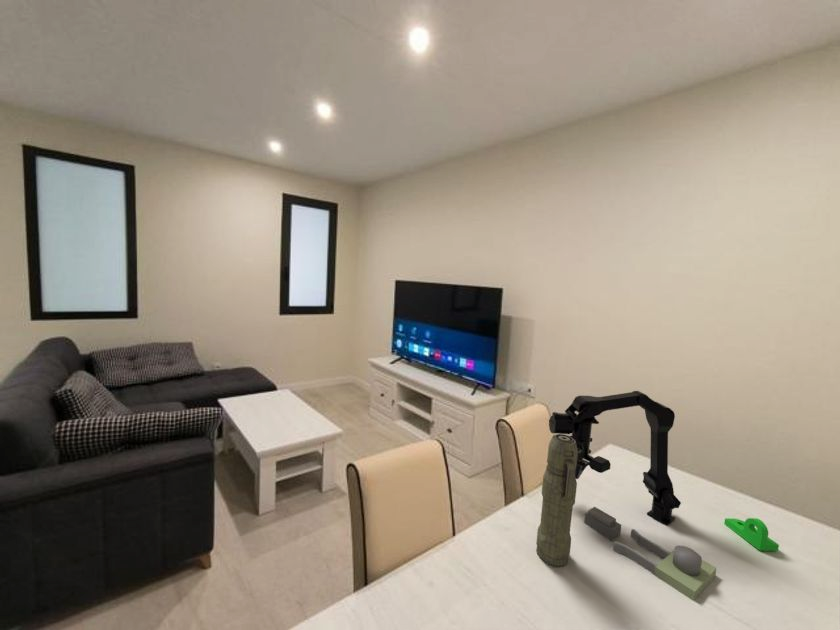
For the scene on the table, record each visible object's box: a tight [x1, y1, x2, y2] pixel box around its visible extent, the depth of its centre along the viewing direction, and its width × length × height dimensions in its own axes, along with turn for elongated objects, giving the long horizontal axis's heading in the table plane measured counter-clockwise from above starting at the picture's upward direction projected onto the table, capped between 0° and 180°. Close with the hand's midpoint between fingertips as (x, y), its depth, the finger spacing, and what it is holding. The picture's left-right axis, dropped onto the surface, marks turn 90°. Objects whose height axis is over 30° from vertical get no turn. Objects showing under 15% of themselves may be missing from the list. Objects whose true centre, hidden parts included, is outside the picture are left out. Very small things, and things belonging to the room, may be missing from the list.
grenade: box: [535, 433, 578, 569], centre depth 99 cm, size 9×12×35 cm
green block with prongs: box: [612, 528, 717, 601], centre depth 101 cm, size 16×20×6 cm
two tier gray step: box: [583, 506, 622, 542], centre depth 113 cm, size 5×9×5 cm, turn 35°
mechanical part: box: [724, 517, 780, 552], centre depth 114 cm, size 12×6×8 cm, turn 3°
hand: (576, 478), depth 121 cm, fingers closed
